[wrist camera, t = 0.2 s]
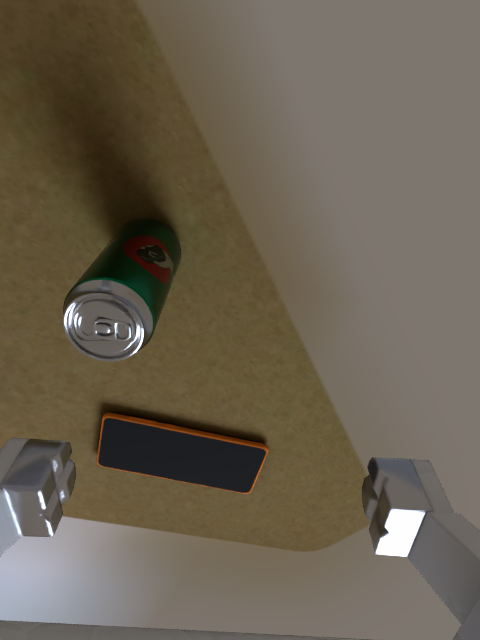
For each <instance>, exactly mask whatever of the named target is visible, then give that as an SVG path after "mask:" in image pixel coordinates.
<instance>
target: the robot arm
mask: <svg viewBox="0 0 480 640" xmlns="http://www.w3.org/2000/svg"><path fill="white" fill-rule="evenodd" d="M71 453H72V449H71V445H70V442H65V441H53V440H40V439H24V438H11V439H10V440H8V441H7V442H6V443H5V445H4V446H3V448H2V449H1V451H0V556H1V555H2V554H3V553H4V552H5V551H7V550H8V549H9V548H10V547H11V546H12V545H13V544H14V543H15V542H16V541H17V540H18V539H19V538H20V537H19V536H35V537H53V536H54V534H55V531H56V529H57V527H58V524H59V522H60V520H61V518H62V515H63V511H62V507H61V505H62V504H63V503H65V502H66V501H67V500H68V499H70V496H71V494H72V491H73V489H74V484H75V479H76V468H75V463H74V462H73V461H72V460H71V459H70V458H69V457H70V455H71ZM368 470H369V474H370V475H368V476H367V477H366V478H364V482H363V486H362V502H363V508H364V512H365V515H366V516H367V517H368V518H369V519H370V520H371V521H372V522H371V525H370V528H369V531H370V535H371V539H372V543H373V547H374V551H375V554H381V555H394V556H406V557H408V559H409V560H410V562H411V563H412V564H413V565H414V566H415V568H416V569H417V570H418V571H419V573H420V574H421V575H422V576H423V578H424V579H425V580H426V581H427V583H428V584H429V585H430V586H431V587H432V589H433V590H434V591H435V592H436V594H437V595H438V596H439V597H440V598H441V600H442V601H443V602H444V603H445V604H446V606H447V607H448V608H449V609H450V611H451V612H452V613H453V614H454V616H455V617H456V618H457V619H458V621H459V622H460V623H461V624H462V625H461V627H460V628H459V630H458V632H457V633H456V635H455V637H454V638H453V640H480V530H478V529H477V528H476V527H475V526H474V525H473V524H472V523H470V522H469V521H468V520H467V519H466V518H465V517H463V516H462V515H461V514H456V513H454V511H453V509H452V507H451V505H450V503H449V500H448V498H447V496H446V494H445V492H444V489H443V487H442V485H441V483H440V481H439V479H438V477H437V474H436V472H435V470H434V468H433V466H432V464H431V463H430V462H429V461H428V460H411V459H409V460H408V459H395V458H371V460H370V461H369V465H368ZM0 640H368V639H350V638H331V637H312V636H293V635H274V634H254V633H236V632H216V631H196V630H178V629H157V628H156V629H155V628H137V627H119V626H100V625H99V626H98V625H79V624H61V623H42V622H22V621H2V620H0Z"/></svg>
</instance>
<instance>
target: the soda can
mask: <svg viewBox="0 0 480 640" xmlns="http://www.w3.org/2000/svg"><path fill="white" fill-rule="evenodd" d="M180 259H181V248H180V244H179V241H178V239H177V237H176V236H175V234H174V233H173V232H172V230H170V229H169V228H168V227H167V226H166V225H164V224H163V223H161V222H159V221H156V220H153V219H148V218H141V219H135V220H132V221H130V222H128V223H126V224H125V225H124V226H123V227H122V228H121V229H120V230H119V231H118V232H117V234H116V235H115V236H114V237H113V239H112V240H111V241H110V242H109V243H108V245H107V246H106V247H105V248H104V250H103V251H102V252H101V253H100V254H99V256H98V257H97V258H96V259H95V261H94V262H93V263H92V264H91V266H90V267H89V268H88V269H87V270H86V272H85V273H84V274H83V275H82V277H81V278H80V279H79V280H78V281H77V283H76V284H75V285H74V286H73V288H72V289H71V290H70V291H69V293H68V294H67V296H66V298H65V301H64V306H63V315H64V316H63V327H64V331H65V334H66V336H67V338H68V339H69V341H70V342H71V343H72V345H73V346H74V347H75V348H76V349H77V350H79V351H80V352H81V353H83V354H85V355H86V356H88V357H91V358H93V359H96V360H100V361H107V362H113V361H120V360H124V359H126V358H128V357H130V356H132V355H133V354H134V353H135V352H137V351H139V350H140V349H142V348H143V347H144V346H145V345H147V343H148V342H149V341H150V339H151V337H152V335H153V333H154V330H155V327H156V325H157V322H158V319H159V317H160V314H161V311H162V308H163V306H164V303H165V300H166V298H167V295H168V292H169V290H170V287H171V284H172V282H173V279H174V276H175V274H176V271H177V268H178V265H179V263H180Z"/></svg>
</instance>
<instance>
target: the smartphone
mask: <svg viewBox="0 0 480 640" xmlns="http://www.w3.org/2000/svg"><path fill="white" fill-rule="evenodd" d="M268 451H269V448H268V446H267V445H265V444H263V443H258V442H253V441H248V440H243V439H238V438H233V437H228V436H223V435H218V434H213V433H209V432H204V431H199V430H194V429H189V428H184V427H179V426H176V425H171V424H164V423H160V422H156V421H152V420H147V419H142V418H137V417H132V416H125V415H120V414H115V413H105V414H104V415H103V417H102V424H101V431H100V439H99V446H98V453H97V464H98V465H99V466H102V467H106V468H112V469H117V470H122V471H128V472H133V473H138V474H144V475H149V476H154V477H159V478H165V479H170V480H175V481H181V482H186V483H191V484H196V485H202V486H207V487H212V488H218V489H223V490H228V491H234V492H239V493H244V494H247V493H250V492H251V491H252V489H253V487H254V484H255V482H256V480H257V477H258V475H259V473H260V470H261V468H262V466H263V463H264V461H265V459H266V456H267V454H268Z"/></svg>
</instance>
